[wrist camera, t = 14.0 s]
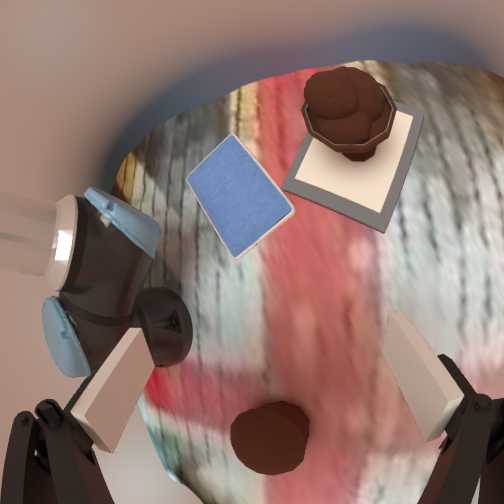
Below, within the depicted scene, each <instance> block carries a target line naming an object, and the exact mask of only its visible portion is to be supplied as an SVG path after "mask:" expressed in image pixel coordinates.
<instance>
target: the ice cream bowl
mask: <svg viewBox="0 0 504 504" xmlns="http://www.w3.org/2000/svg"><path fill="white" fill-rule="evenodd" d="M304 98H305V102H304V105H303V107H302V109H301V111H302V114H303V117H304V120H305V123H306V126H307V129H308V132H309V134H310V135H312V136H313V137H314V138H315V139H317V140H319V141H320V142H322V143H323V144H325V145H326V146H328V147H329V148H331V149H332V150H334V151H335V152H339V153H342V155H344V156H345V157H346V158H348V159H349V160H351V161H354V162H365V161H366V160H368V159H369V158H371V157H373V156H374V154H375V151H376V148H377V145H378V144H380V143H381V142H383V141H384V140H386V139H388V138H389V135H390V133H391V129H392V126H393V122H394V118H395V115H396V111H397V107H396V105H395V103H394V101H393V100H392V98H391V96H390V94H389V92H388V91H387V89H386V87H385V86H384V85H382V84H380V83H378V82H376V80H375V79H374V78H373V77H372V76H371V75H370V74H368V73H366V72H364V71H362V70H359V69H357V68H355V67H344V66H343V67H341V68H336V69H334V70H331V71H324V72H318V73H315V74H314V75H312V76H311V78H310V79H309V80H308V81H307V82H306V86H305V88H304Z"/></svg>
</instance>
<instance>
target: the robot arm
mask: <svg viewBox="0 0 504 504" xmlns="http://www.w3.org/2000/svg"><path fill="white" fill-rule="evenodd" d="M160 237H161V229H160V226H159V225H158V223H157V222H156V221H155V220H153V219H152V218H151V217H149V216H148V215H146V214H144V213H143V212H141V211H139V210H138V209H136V208H134V207H132V206H131V205H129V204H127V203H125V202H123V201H121V200H120V199H118V198H116V197H114V196H112V195H110V194H108V193H106V192H103V191H101V190H99V189H95V188H93V187H90V188H88V189H87V191H86V192H85V193H84V198H81V197H77V196H74V195H68V196H66V197H65V198H63V199H61V200H60V201H59V202H57V203H51V202H47V201H43V200H39V199H36V198H32V197H29V196H25V195H21V194H17V193H14V192H11V191H7V190H3V189H0V269H1V270H7V271H12V272H18V273H24V274H31V275H38V276H42V277H43V278H45V280H46V281H47V283H48V284H49V286H50V287H51V288H52V289H53V290H54V291H59V296H58V297H55V296H51V297H49V298H47V299H46V300H45V301H44V303H43V308H42V321H43V329H44V335H45V339H46V342H47V346H48V349H49V351H50V354H51V356H52V358H53V360H54V362H55V364H56V366H57V367H58V369H59V370H60V371H61V372H62V373H63V374H65V375H66V376H68V377H71V378H75V377H84V376H86V377H87V378H86V379H85V380H84V381H83V383H82V384H81V385H80V388H78V390H77V391H76V393H75V394H74V395H73V397H72V398H71V400H70V401H69V403H68V404H67V405H66V407H65V408H64V410H62V409H61V407H60V406H59V404H58V403H57V402H56V401H55V400H53V399H45V400H43V401H41V402H40V403H39V404H38V405H37V406H36V408H35V414H36V415H37V416H38V417H39V419H36V418H35V417H34V416H33V414H32V413H31V412H29V411H23V412H21V413H19V414H18V415H17V416H16V417H15V419H14V422H13V425H12V430H11V434H10V438H9V443H8V448H7V453H6V458H5V464H4V470H3V478H2V487H1V499H0V504H115V503H114V501H113V499H112V497H111V494H110V492H109V490H108V488H107V485H106V482H105V480H104V477H103V475H102V472H101V470H100V467H99V464H98V461H97V458H96V456H95V452H94V451H93V449H92V448H91V447H92V445H93V443H95V445H96V446H97V447H98V448H99V449H100V450H103V451H106V452H109V453H114V450H115V448H116V446H117V444H118V442H119V440H120V437H121V435H122V433H123V431H124V429H125V427H126V424H127V422H128V420H129V418H130V416H131V414H132V412H133V410H134V408H135V406H136V404H137V402H138V400H139V398H140V395H141V393H142V391H143V389H144V387H145V385H146V383H147V381H148V379H149V377H150V375H151V373H152V371H153V369H154V367H161V368H163V367H169V366H172V365H175V364H178V363H179V362H181V361H182V360H183V359H184V358H185V357H186V355H187V354H188V352H189V349H190V346H191V342H192V324H191V319H190V316H189V313H188V310H187V308H186V306H185V305H184V303H183V301H182V300H181V299H180V298H179V296H178V295H177V294H175V293H174V292H173V291H171V290H169V289H167V288H163V287H150V288H146V289H144V290H142V289H143V286H144V283H145V280H146V277H147V274H148V271H149V268H150V266H151V263H152V260H153V259H155V256H156V255H155V252H156V249H157V246H158V243H159V240H160ZM382 355H383V357H384V359H385V361H386V362H387V364H388V366H389V368H390V370H391V372H392V374H393V376H394V378H395V380H396V382H397V384H398V386H399V388H400V390H401V392H402V394H403V396H404V398H405V400H406V402H407V405H408V407H409V409H410V411H411V413H412V415H413V417H414V420H415V422H416V424H417V426H418V428H419V431H420V433H421V435H422V438H423V440H424V442H425V443H426V442H429V441H431V440H434V439H437V438H439V437H440V436H441V434H442V433H443V431H444V430H445V431H446V433H447V436H446V438H445V439H444V441H443V442H442V444H441V445H440V447H439V449H441V448H442V449H441V452H440V454H439V457H438V460H437V462H436V465H435V467H434V469H433V472H432V474H431V476H430V479H429V481H428V483H427V485H426V487H425V489H424V491H423V493H422V495H421V497H420V499H419V501H418V503H417V504H471V502H472V499H473V496H474V493H475V490H476V487H477V484H478V481H479V478H480V490H479V499H478V504H504V398H500V399H494V400H492V399H491V398H490V397H489V396H488V395H485V394H477V393H476V392H475V390H474V389H473V388H472V386H471V385H470V383H469V382H468V381H467V379H466V378H465V376H464V375H463V374H461V371H460V370H459V368H457V366H456V364H455V363H454V362H453V360H452V359H451V358H449V357H447V356H446V355H444V354H441V355H438V356H437V355H436V354H435V353H434V351H433V350H432V349H431V347H430V346H429V345H428V343H427V342H426V341H425V339H424V338H423V337H422V336H421V334H420V333H419V332H418V330H417V329H416V328H415V327H414V325H413V324H412V323H411V322H410V320H409V319H408V318H407V317H406V315H405V314H404V313H403V312H402V310H398V311H392V312H389V313H388V320H387V326H386V332H385V338H384V343H383V348H382ZM35 450H36V451H37V455H36V456H35V455H34V453H35ZM480 474H481V477H480Z"/></svg>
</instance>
